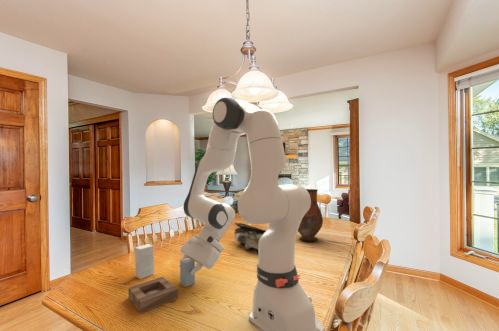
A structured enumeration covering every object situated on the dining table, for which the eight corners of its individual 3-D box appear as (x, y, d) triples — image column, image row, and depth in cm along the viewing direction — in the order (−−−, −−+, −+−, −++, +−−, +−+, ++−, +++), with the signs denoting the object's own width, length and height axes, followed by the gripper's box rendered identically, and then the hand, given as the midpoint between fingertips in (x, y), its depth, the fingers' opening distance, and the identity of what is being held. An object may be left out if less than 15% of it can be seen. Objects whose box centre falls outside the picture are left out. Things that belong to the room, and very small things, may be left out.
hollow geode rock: (236, 249, 145) (220, 234, 138) (247, 231, 151) (233, 216, 144) (270, 262, 124) (254, 245, 117) (282, 240, 130) (268, 223, 123)
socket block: (177, 298, 84) (177, 288, 84) (140, 313, 76) (140, 302, 76) (162, 285, 93) (162, 276, 93) (128, 297, 85) (128, 287, 85)
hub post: (194, 283, 95) (194, 259, 95) (185, 286, 92) (185, 262, 92) (189, 279, 98) (189, 256, 98) (180, 283, 95) (180, 259, 95)
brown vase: (328, 240, 146) (328, 189, 146) (305, 248, 133) (305, 192, 133) (306, 233, 159) (306, 187, 159) (282, 240, 146) (282, 189, 146)
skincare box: (148, 271, 106) (148, 243, 105) (154, 274, 103) (153, 245, 103) (134, 276, 101) (134, 247, 101) (139, 279, 98) (139, 249, 98)
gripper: (189, 230, 107) (168, 258, 101) (217, 241, 92) (194, 275, 86) (199, 238, 110) (178, 266, 104) (227, 250, 95) (205, 284, 89)
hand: (185, 270), depth 95 cm, fingers open, 6 cm apart
